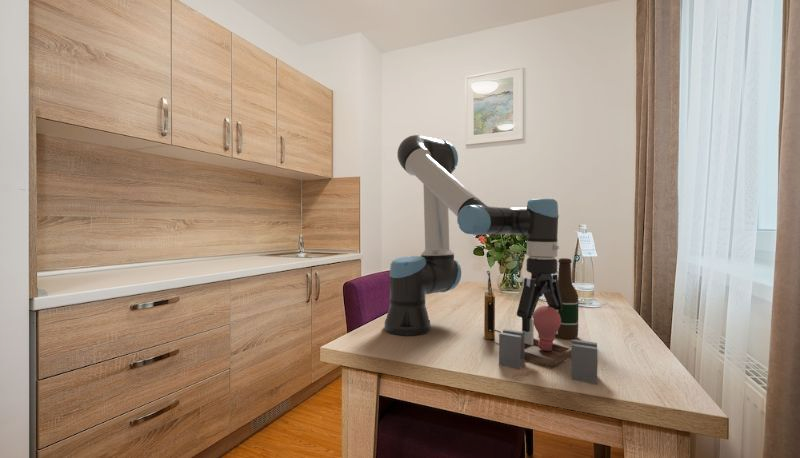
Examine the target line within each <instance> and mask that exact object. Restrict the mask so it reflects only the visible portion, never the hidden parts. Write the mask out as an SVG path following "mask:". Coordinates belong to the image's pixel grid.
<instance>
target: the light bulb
mask: <svg viewBox="0 0 800 458" xmlns="http://www.w3.org/2000/svg"><path fill="white" fill-rule="evenodd" d="M532 318H533V319H534V329H535V330H536V331H537V334H538V339H539V340H538V347H539V348H540V349H542V350H545V351H550V350H552V346H553V343H554V341H555V339H556V337H555V334H556V332H557V331H558V329H559V327H560V325H561V317H560V314H559V313H558V312H557V310H555V309H554V308H552V307H550V306H548V305H542V306H539V307H536V308H535V310H534V313H533V316H532Z"/></svg>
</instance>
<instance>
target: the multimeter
mask: <svg viewBox="0 0 800 458" xmlns="http://www.w3.org/2000/svg"><path fill="white" fill-rule="evenodd" d="M486 272H487V275H488V279H487V280H488V281H487V290H488V291H485V292H484V315H483V316H484V318H483V319H484V325H483V326H484V327H483V328H484V331H483V333H484V339H485V340H492V341H493V343H494V344H496V345H499V342H495V339H496V334H495V332H498V333H499V334H500V333H501V332H502V331H500V330H497V329H496V327H495V324H496V323H495V322H496V321H495V319H496V296H495V293H494V292H493V290H492V282H491V272H490V271H489V270H487V271H486Z"/></svg>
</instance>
